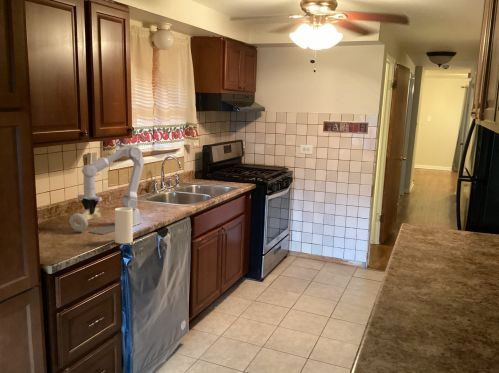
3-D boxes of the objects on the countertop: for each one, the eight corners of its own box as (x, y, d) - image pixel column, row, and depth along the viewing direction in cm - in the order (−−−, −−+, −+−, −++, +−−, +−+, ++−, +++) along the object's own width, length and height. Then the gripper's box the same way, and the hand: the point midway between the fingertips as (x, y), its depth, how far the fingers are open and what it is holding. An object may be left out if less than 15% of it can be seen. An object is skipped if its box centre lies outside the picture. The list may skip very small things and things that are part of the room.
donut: (90, 230, 232) (87, 213, 228) (86, 233, 229) (83, 215, 225) (73, 228, 234) (70, 211, 231) (69, 231, 231) (66, 214, 228)
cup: (126, 238, 223) (125, 206, 221) (136, 241, 218) (136, 209, 216) (111, 241, 217) (111, 208, 215) (121, 244, 212) (121, 211, 210)
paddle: (97, 216, 245) (97, 207, 244) (101, 216, 244) (101, 207, 243) (78, 220, 232) (78, 210, 231) (82, 220, 231) (82, 211, 230)
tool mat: (112, 225, 247) (112, 224, 247) (125, 227, 244) (125, 226, 244) (89, 232, 231) (89, 231, 231) (103, 235, 227) (103, 234, 227)
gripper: (73, 187, 234) (73, 213, 236) (95, 190, 229) (95, 216, 231) (82, 185, 240) (83, 210, 243) (104, 188, 235) (104, 213, 237)
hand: (89, 213), depth 237 cm, fingers closed on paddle, 2 cm apart
